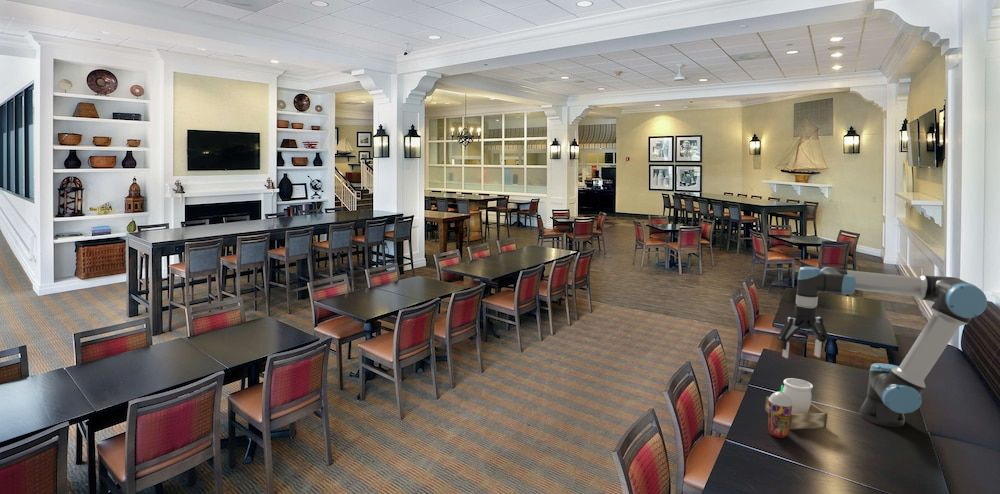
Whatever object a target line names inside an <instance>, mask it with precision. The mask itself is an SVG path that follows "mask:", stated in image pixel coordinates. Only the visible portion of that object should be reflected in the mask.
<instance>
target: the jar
mask: <svg viewBox="0 0 1000 494" xmlns="http://www.w3.org/2000/svg"><path fill="white" fill-rule="evenodd" d="M783 384H784V385H783V392H784V393H786V394H788V395H789V397H790V398H791V400H792V402H793V405H792V411H791V413H792V414H807V413H808V411H809V407H810V404H811V403H812V397H813V395H812V390H813V386H814V385H813V384H812V383H811V382H809V381H807V380H804V379H799V378H794V377H791V378H789V377H788V378H785V379H783Z"/></svg>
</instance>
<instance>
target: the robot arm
mask: <svg viewBox="0 0 1000 494" xmlns="http://www.w3.org/2000/svg"><path fill="white" fill-rule="evenodd" d="M796 285H797V286H796V294H795V306H794V317H790V316H787V317H786V321H785V323H784V325H783V326H782V328H781V330H780V331H779V333H778V335H777V337H776V338H777V339H778V340H779V341H781V346H780V347H781V349H782V353H781V355H782V357H783V358H785V359H788V358H789V352H790V342H789V340H790V339H792V337H793V336H795V334H796V333H797V331H800V330H805V329H806V330H810V331H811V332H812V333H813V334H814V335H813V336H815V337H816V339H815V342H814V352H813V356H815V357H817V358H821V351H822V349H823V347H824V343H826V341H828V340H829V338H830V337H829V334H828V332H827V330H826V327H825V325H824V318H823V317H820V316H817V313H818V312H817V309H818V308H817V306H818V300H819V293H824V294H825V293H826V294H828V293H829V294H835V295H838V294H840V295H853V294H854V293H855V291H856V290H857V291H864V292H865V291H867V292H874V293H881V294H882V293H883V294H892V295H899V296H900V295H901V296H909V297H910V296H911V297H916V298H917V299H918V300H921V301H922V300H923V301H927V302H933V304H932V306H931V307H930V309H931V312H932V314H931V317H930V318H929V320H928V321H927V323H926V324H925V325H924V327H923V329H922V330H921V332H920V333H919V335H918V337H917V338H916V340H915V341H914V343H913V344H912V346H910V349H909V350H908V353H906V355H905V357H904V358H903V359H902V361H901V363H900V365H895V364H890V363H880V362H875V363H872V364H871V365H870V369H869V376H868V383H867V384H868V385H867V393H866V398H865V400H864V402H863V403H862V405H861V406H860V408H859V409H860V410H859V415H860V417H861V418H862V419H864V420H866V421H868V422H869V423H873V424H874V425H875V424H876V425H879V426H883V427H888V428H899V427H903V426H904V425H905V419H906V418H905V414H910V413H913V412H916V411H917V410H918V409H919V408H920V407H921V405H922V401H923V400H922V393H923V391H924V390H925V388H926V384H925V379H926V377H928V374H929V373H930V372H931V370H932V369H933V367H934V365H935V364H936V363H937V361H938V359H939V358H940V357H941V355H942V354H943V352H944V350H945V349H946V347H947V346H948V344H949V343H950V342H951V340H952V338H953V337H954V336H955V334H956V332H957V331H958V330H959V328H960V327H961V326H965V325H968V324H969V323H970V321H971V320H972V318H975V317H978V316H980V315H981V314H983V313H984V311H985V310H986V308H987V305H988V299H987V296H986V294H985V293H984V291H983V290H982V289H980V288H979V287H978V286H976V285H975V284H973V283H969V282H967V281H965V280H963V279H960V278H957V277H951V276H939V275H920V276H906V275H897V274H888V273H886V274H885V273H880V272H879V273H878V272H868V271H858V270H851V269H850V270H848V269H847V270H846V269H839V268H834V267H831V266H825V267H823V268H821V269H820V268H819V267H815V266H802V267H801V266H800V268H799V270H798V276H797V283H796ZM815 323H816V325H817V327H816V326H815ZM817 328H818V329H817Z"/></svg>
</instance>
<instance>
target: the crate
mask: <svg viewBox="0 0 1000 494" xmlns="http://www.w3.org/2000/svg"><path fill="white" fill-rule="evenodd" d="M769 397H770V396H765V407H764V411H765V412H766V413H768V412H769ZM827 422H828V412H826V411H824V410H823V409H821V408H820V407H818V406H816V405H815V404H814V403H812V402H811V404H810V407H809V411H808V413H807V414H792V413H791V417H790V423H789V429H788V430H804V429H805V430H806V429H807V430H809V429H810V430H811V429H813V430H814V429H827Z"/></svg>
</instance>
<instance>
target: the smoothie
mask: <svg viewBox="0 0 1000 494" xmlns="http://www.w3.org/2000/svg"><path fill="white" fill-rule="evenodd" d="M783 388H784V385H783V384H781V386H780V391H775V392H773V393H772V394H771V395H770V396H768V397H769V412H767V414H768V418H767V420H768V422H767V424H768V425H767V430H768V432H769V434H770V435H771V436H773V437H774V438H781V439H782V438H786V437H787V435H788V433H789V430H790V429H789V423H790V417H791V411H792V405H793V402H792V400H791V398H790V397H789V395H788V394H786V393H784V392H783Z"/></svg>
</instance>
